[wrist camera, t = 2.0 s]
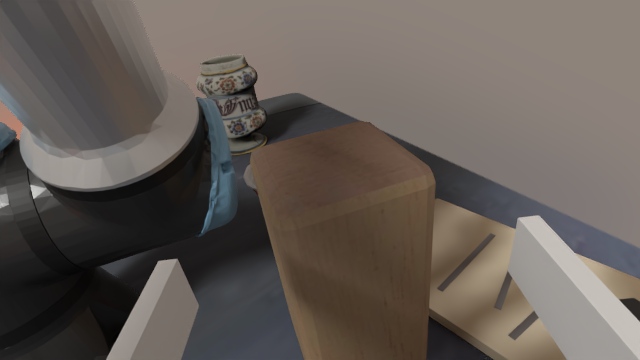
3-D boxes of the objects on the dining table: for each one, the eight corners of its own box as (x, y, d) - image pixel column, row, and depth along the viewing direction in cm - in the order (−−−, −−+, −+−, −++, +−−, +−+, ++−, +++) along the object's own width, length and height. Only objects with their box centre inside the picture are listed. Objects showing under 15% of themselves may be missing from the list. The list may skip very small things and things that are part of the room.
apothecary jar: (270, 129, 81) (253, 48, 72) (273, 151, 71) (253, 60, 61) (218, 138, 80) (193, 58, 71) (214, 162, 70) (184, 71, 60)
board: (358, 268, 41) (357, 260, 40) (436, 205, 49) (437, 197, 48) (688, 490, 22) (697, 482, 21) (725, 325, 30) (733, 315, 29)
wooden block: (377, 286, 38) (367, 114, 28) (430, 368, 30) (443, 168, 20) (290, 318, 36) (244, 145, 26) (321, 416, 28) (272, 220, 18)
